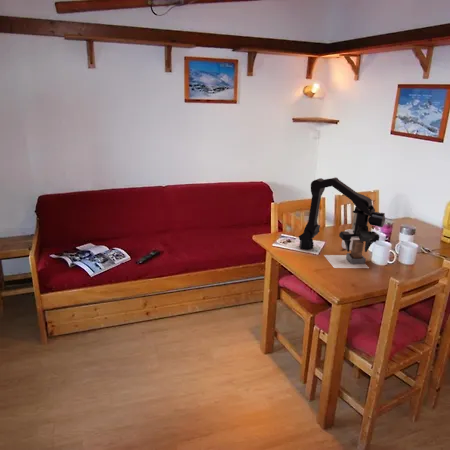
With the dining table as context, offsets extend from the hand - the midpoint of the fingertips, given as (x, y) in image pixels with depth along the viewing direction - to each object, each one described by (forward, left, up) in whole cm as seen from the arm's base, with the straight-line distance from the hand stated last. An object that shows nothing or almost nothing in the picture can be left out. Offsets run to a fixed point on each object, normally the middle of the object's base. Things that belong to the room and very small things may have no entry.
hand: (356, 251), depth 205 cm
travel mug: (+22, +50, -6) cm, 55 cm away
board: (-5, 0, -6) cm, 8 cm away
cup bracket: (0, 0, -6) cm, 6 cm away
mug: (+3, +18, -6) cm, 19 cm away
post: (0, 0, -5) cm, 5 cm away
